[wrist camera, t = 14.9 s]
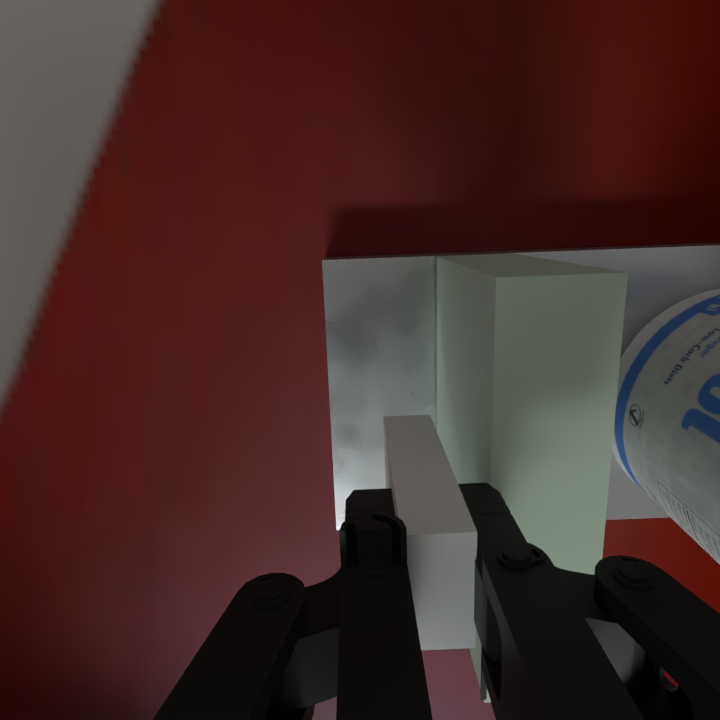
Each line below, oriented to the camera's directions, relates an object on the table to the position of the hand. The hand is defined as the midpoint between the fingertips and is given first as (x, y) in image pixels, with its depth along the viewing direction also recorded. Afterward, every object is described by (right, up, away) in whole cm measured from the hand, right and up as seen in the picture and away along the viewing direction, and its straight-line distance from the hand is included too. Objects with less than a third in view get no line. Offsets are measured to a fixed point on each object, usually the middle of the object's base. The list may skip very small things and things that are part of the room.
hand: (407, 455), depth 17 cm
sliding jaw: (+3, +1, +5) cm, 6 cm away
